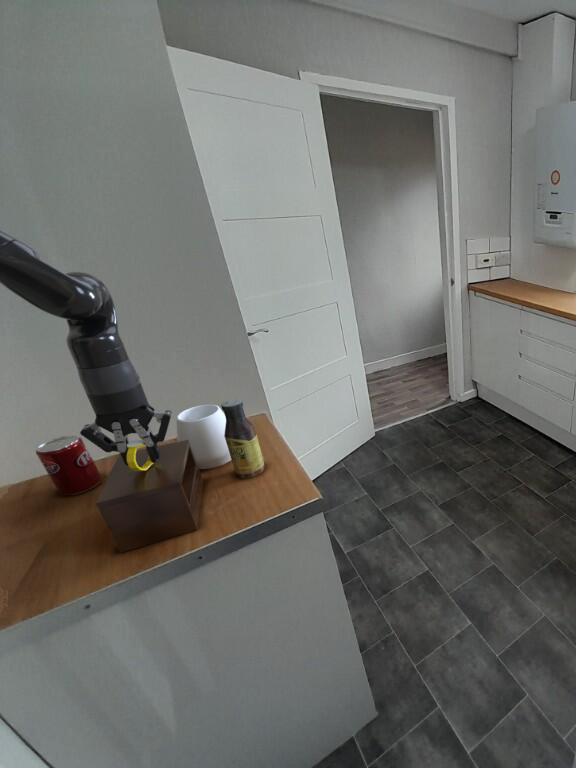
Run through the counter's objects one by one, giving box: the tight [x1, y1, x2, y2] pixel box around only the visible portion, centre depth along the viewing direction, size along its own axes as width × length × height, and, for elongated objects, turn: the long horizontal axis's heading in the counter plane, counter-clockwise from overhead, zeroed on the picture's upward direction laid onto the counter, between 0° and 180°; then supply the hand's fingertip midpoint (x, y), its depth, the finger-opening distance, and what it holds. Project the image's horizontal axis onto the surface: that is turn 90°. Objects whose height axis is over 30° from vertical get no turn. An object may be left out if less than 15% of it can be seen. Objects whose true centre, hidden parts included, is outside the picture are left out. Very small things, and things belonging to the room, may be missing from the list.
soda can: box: [35, 434, 103, 496], centre depth 93 cm, size 7×7×12 cm
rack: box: [95, 440, 204, 554], centre depth 85 cm, size 12×18×12 cm, turn 31°
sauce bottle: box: [220, 398, 266, 479], centre depth 97 cm, size 7×6×20 cm
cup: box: [176, 404, 232, 470], centre depth 103 cm, size 13×13×14 cm
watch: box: [127, 438, 153, 471], centre depth 81 cm, size 6×3×6 cm, turn 8°
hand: (144, 462), depth 82 cm, fingers closed on watch, 2 cm apart
